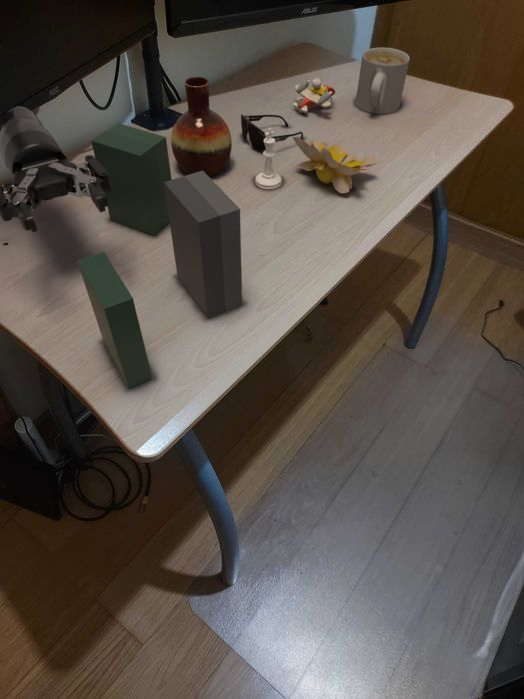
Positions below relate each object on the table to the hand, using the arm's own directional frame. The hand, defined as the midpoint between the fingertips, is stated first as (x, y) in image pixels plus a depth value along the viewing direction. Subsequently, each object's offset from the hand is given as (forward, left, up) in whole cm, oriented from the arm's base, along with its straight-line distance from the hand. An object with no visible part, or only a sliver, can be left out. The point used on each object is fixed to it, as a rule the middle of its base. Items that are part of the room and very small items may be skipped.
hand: (68, 215), depth 63 cm
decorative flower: (+46, +19, -15) cm, 52 cm away
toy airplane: (+53, +47, -15) cm, 72 cm away
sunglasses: (+40, +37, -15) cm, 56 cm away
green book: (+3, -12, -14) cm, 19 cm away
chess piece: (+34, +22, -15) cm, 43 cm away
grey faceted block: (+16, -3, -14) cm, 22 cm away
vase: (+24, +31, -15) cm, 42 cm away
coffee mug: (+67, +44, -15) cm, 82 cm away
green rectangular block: (+10, +18, -14) cm, 25 cm away
